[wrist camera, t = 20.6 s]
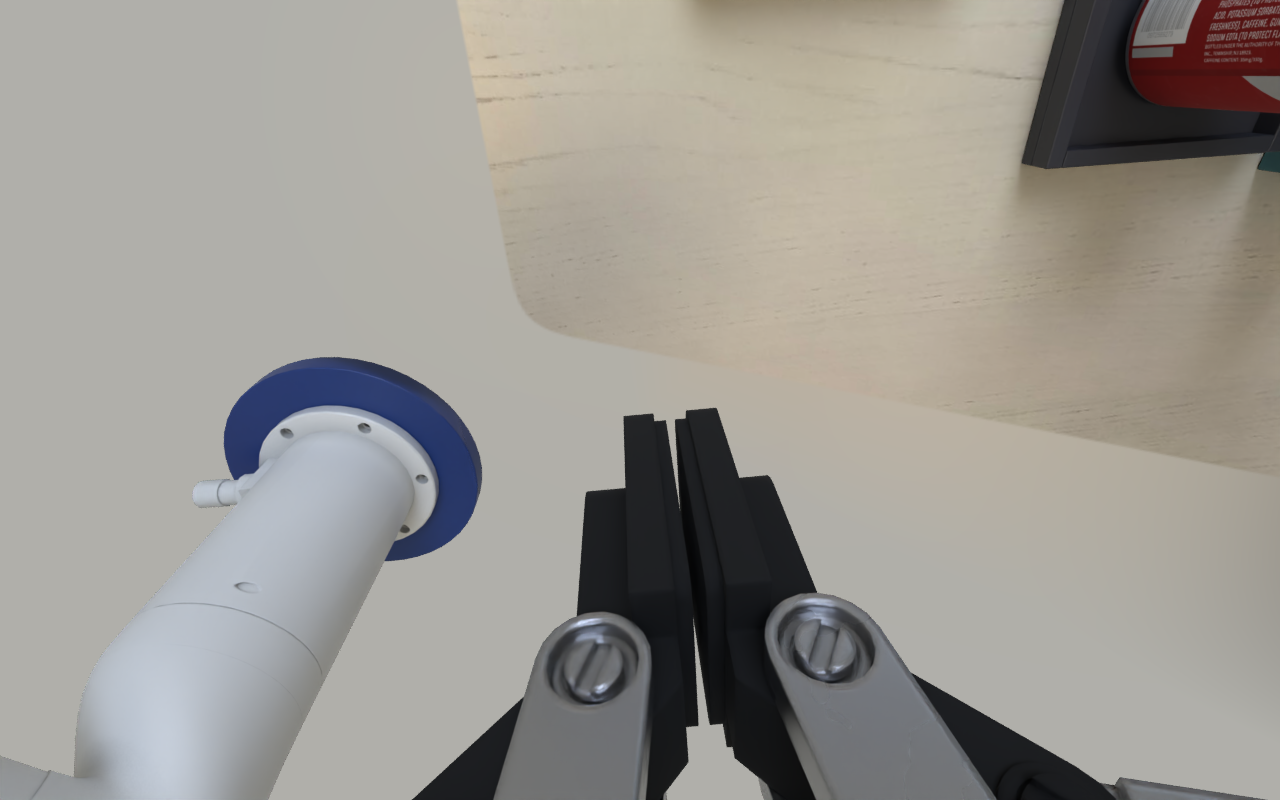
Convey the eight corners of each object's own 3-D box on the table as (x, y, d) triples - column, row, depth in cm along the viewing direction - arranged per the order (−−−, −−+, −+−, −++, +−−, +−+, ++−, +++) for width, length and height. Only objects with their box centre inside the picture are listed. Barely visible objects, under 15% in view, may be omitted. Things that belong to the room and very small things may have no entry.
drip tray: (1021, 163, 29) (1045, 169, 27) (1099, -133, 23) (1137, -150, 21) (1244, 146, 29) (1283, 151, 27) (1381, -157, 23) (1443, -176, 21)
